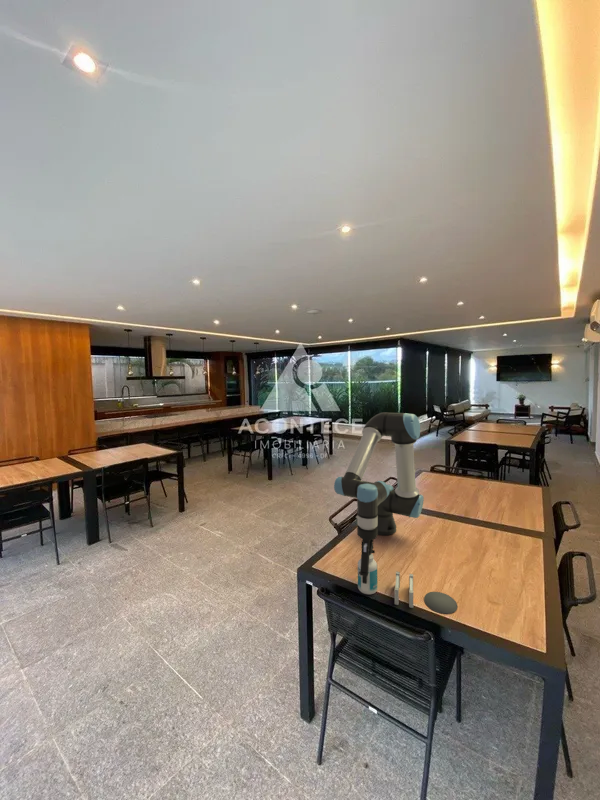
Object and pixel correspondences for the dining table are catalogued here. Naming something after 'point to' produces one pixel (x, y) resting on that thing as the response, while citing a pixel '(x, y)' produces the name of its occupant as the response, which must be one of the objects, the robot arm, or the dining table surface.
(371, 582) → the pill bottle
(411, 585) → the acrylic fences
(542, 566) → the dining table surface
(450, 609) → the coaster
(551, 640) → the dining table surface
